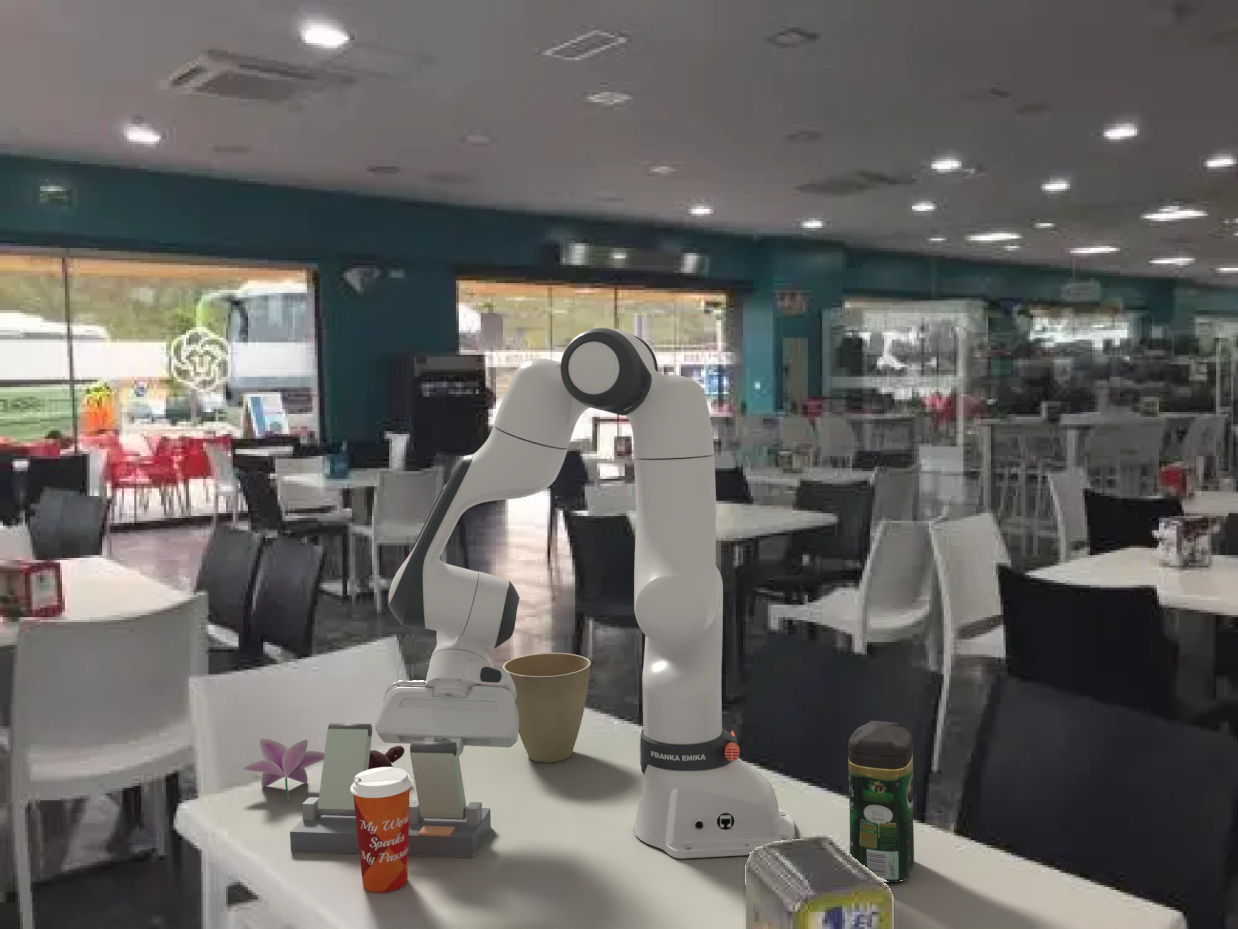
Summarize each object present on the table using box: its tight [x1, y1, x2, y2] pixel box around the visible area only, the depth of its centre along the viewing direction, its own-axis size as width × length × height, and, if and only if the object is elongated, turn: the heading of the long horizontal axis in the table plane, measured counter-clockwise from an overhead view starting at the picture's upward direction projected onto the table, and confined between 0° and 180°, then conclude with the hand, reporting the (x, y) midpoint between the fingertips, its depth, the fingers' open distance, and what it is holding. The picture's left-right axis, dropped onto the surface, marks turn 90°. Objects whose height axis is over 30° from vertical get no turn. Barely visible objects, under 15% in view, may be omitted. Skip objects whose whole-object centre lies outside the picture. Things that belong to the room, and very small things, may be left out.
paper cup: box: [350, 766, 414, 894], centre depth 137 cm, size 8×8×14 cm
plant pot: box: [502, 652, 592, 763], centre depth 182 cm, size 15×15×16 cm
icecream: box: [368, 745, 406, 770], centre depth 168 cm, size 7×7×15 cm
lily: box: [242, 738, 325, 803], centre depth 168 cm, size 12×12×10 cm
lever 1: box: [318, 722, 373, 816], centre depth 153 cm, size 6×2×13 cm, turn 83°
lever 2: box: [409, 741, 467, 820], centre depth 147 cm, size 6×2×13 cm, turn 83°
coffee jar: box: [847, 720, 915, 883], centre depth 137 cm, size 10×8×19 cm
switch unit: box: [289, 796, 492, 859], centre depth 150 cm, size 26×10×5 cm, turn 83°
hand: (438, 772), depth 148 cm, fingers closed, pressing on lever 2
